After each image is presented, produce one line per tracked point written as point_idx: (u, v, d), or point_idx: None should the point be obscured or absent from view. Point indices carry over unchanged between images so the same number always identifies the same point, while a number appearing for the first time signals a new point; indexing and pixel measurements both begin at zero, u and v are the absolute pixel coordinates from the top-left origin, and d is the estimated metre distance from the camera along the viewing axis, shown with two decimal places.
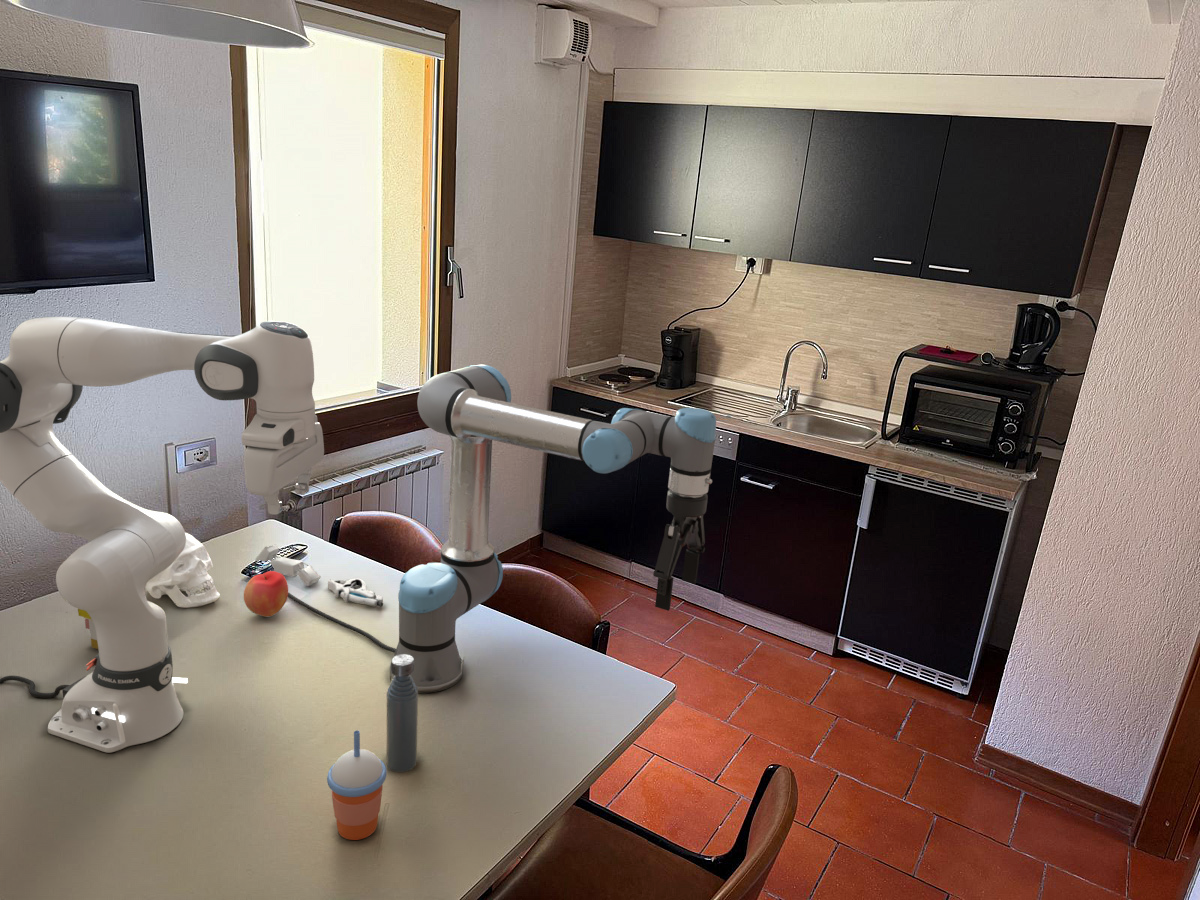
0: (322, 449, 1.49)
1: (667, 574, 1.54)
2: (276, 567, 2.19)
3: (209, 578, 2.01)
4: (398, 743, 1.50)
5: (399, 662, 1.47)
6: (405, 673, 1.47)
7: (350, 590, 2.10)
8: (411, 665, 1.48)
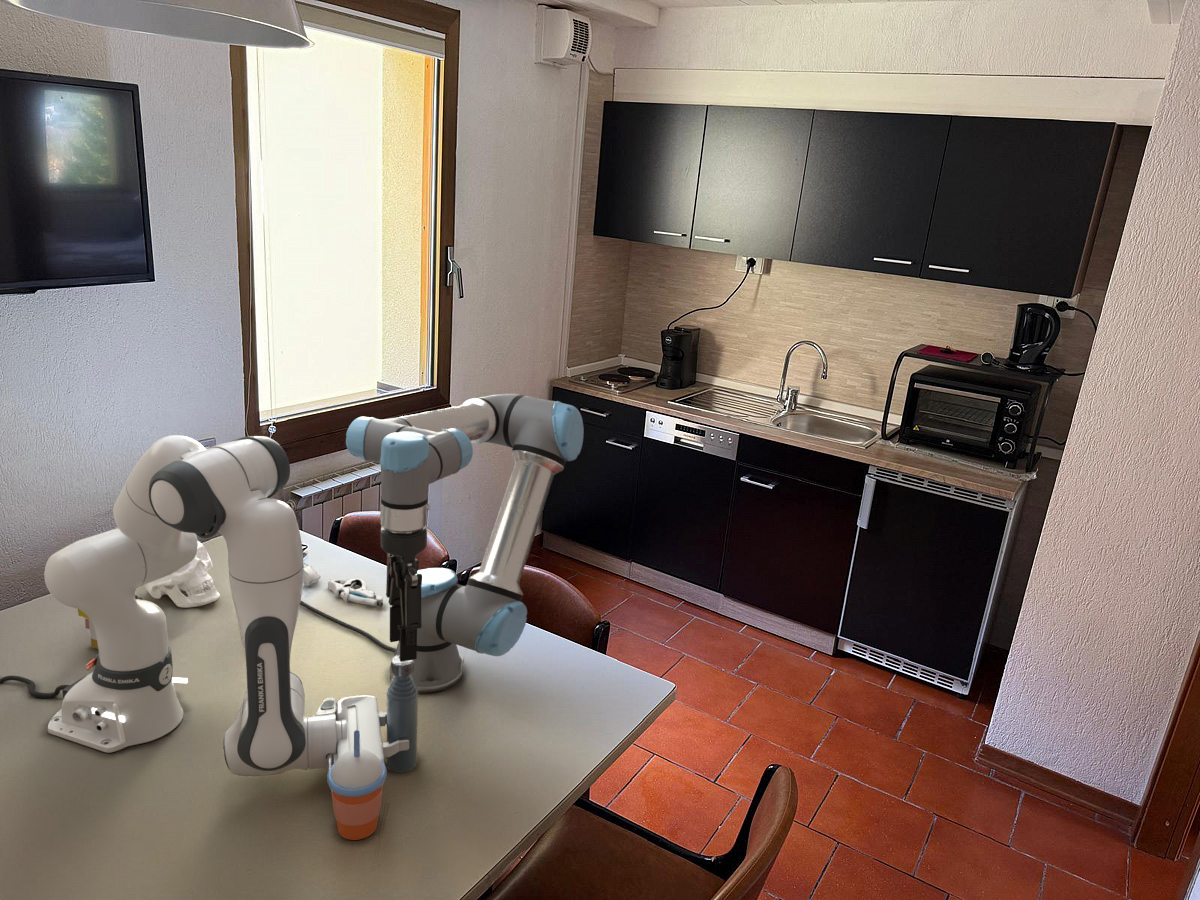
0: None
1: (420, 622, 1.41)
2: None
3: (209, 578, 2.01)
4: None
5: (399, 662, 1.47)
6: (405, 673, 1.47)
7: (350, 590, 2.10)
8: (411, 665, 1.48)
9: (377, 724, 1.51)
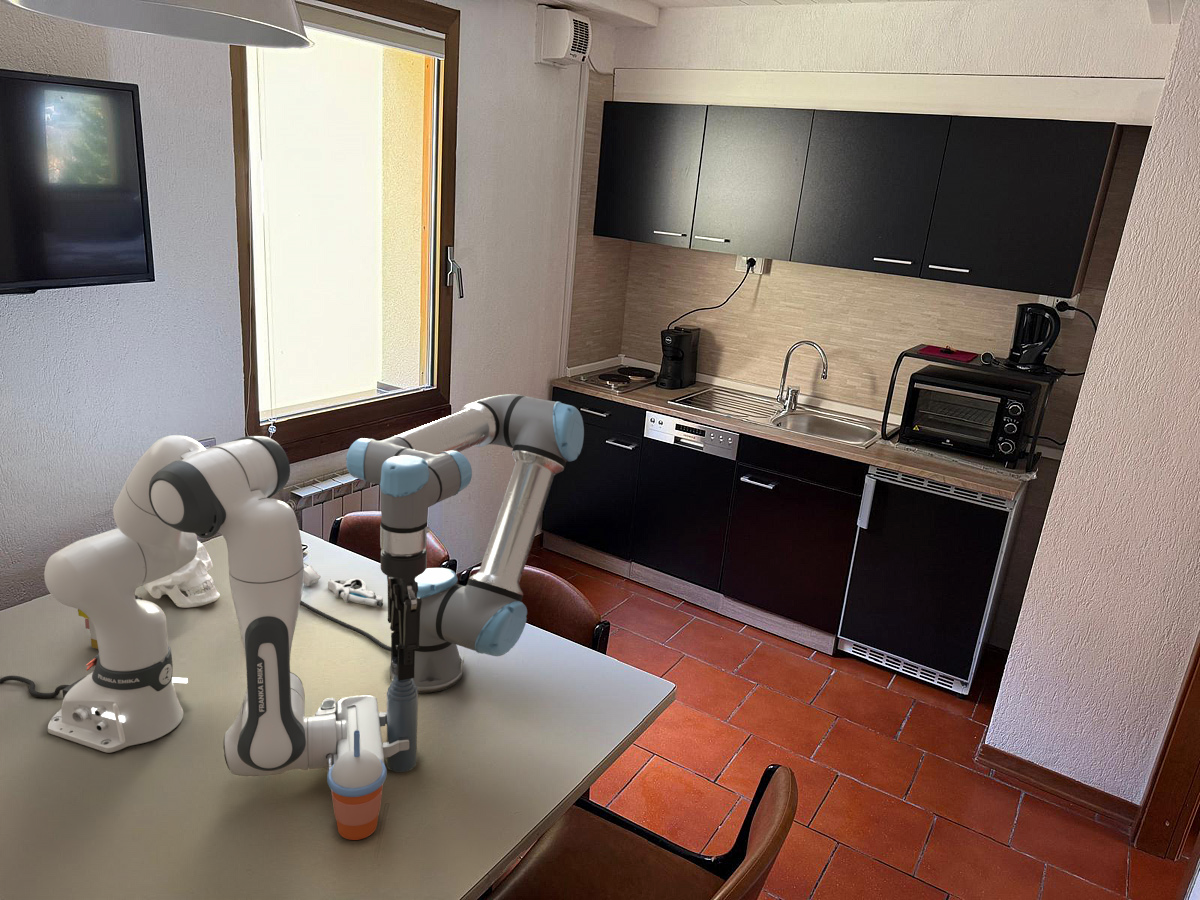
0: None
1: None
2: None
3: (209, 578, 2.01)
4: None
5: None
6: None
7: (350, 590, 2.10)
8: None
9: (377, 724, 1.51)
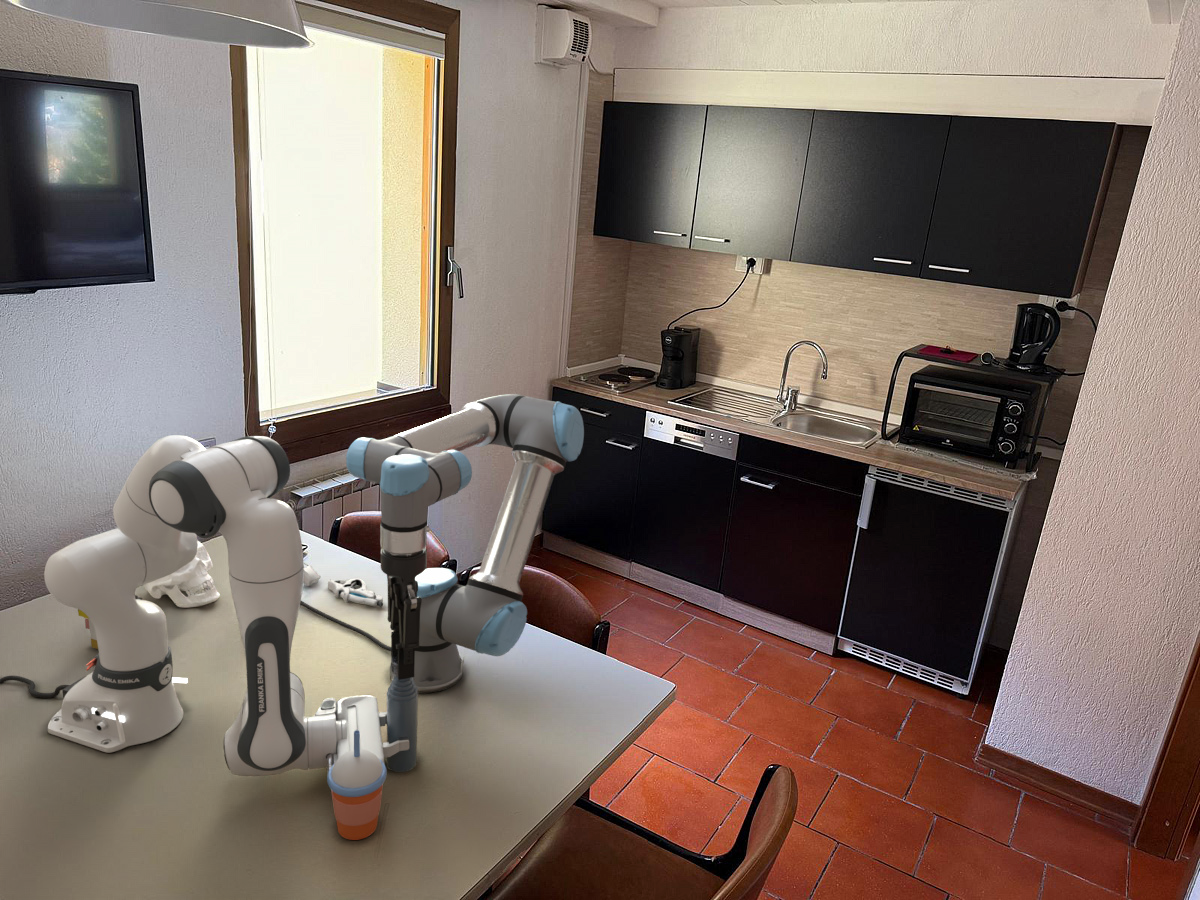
0: None
1: None
2: None
3: (209, 578, 2.01)
4: None
5: None
6: None
7: (350, 590, 2.10)
8: None
9: (377, 724, 1.51)
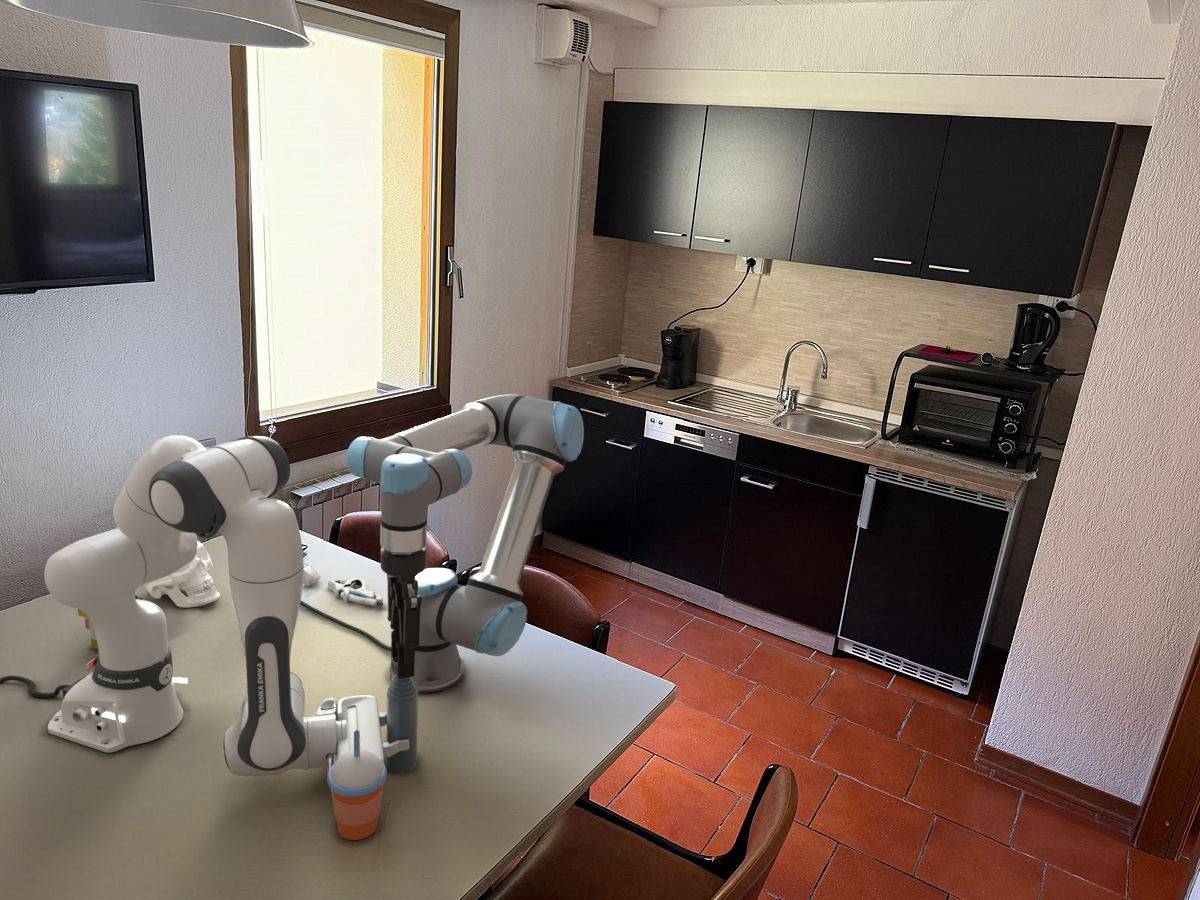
0: None
1: None
2: None
3: (209, 578, 2.01)
4: None
5: None
6: (391, 667, 1.48)
7: (350, 590, 2.10)
8: (394, 664, 1.47)
9: (377, 724, 1.51)
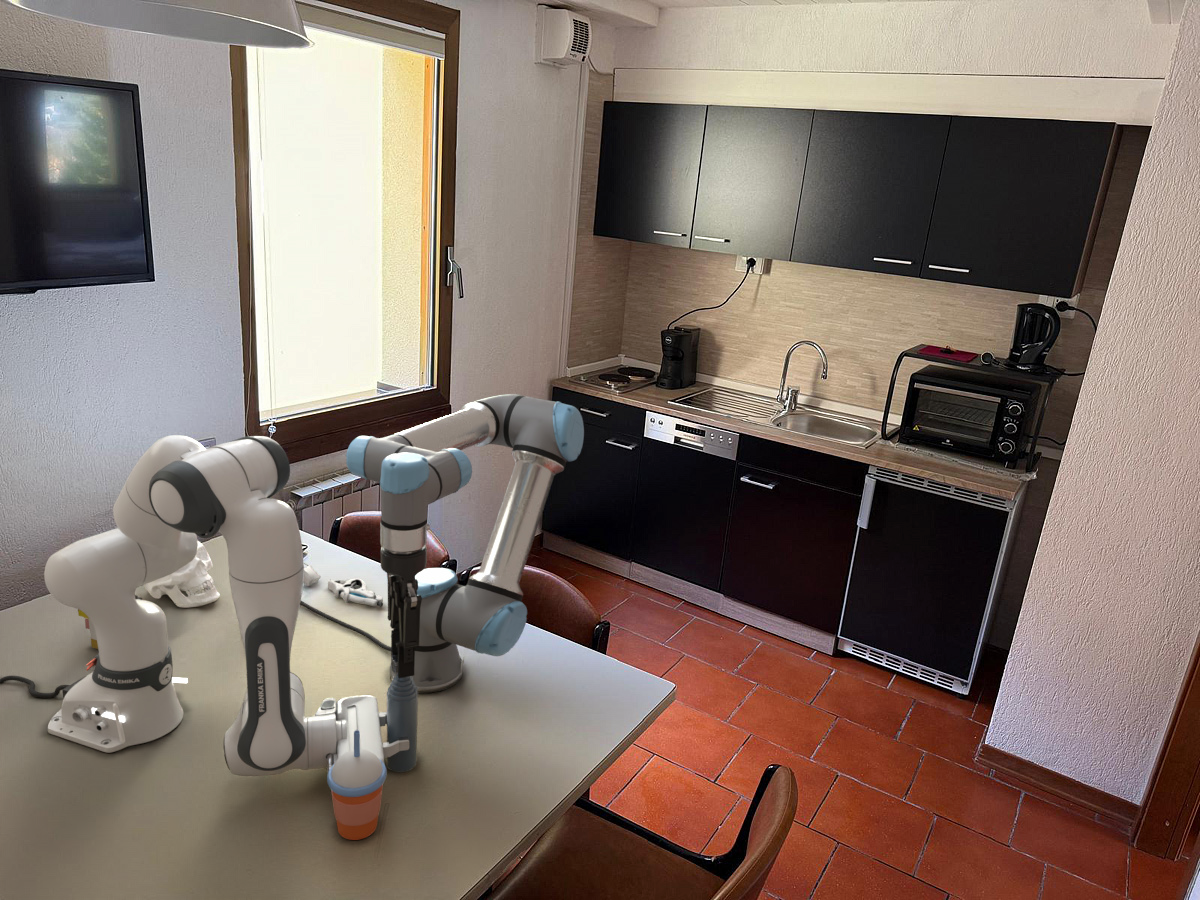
0: None
1: None
2: None
3: (209, 578, 2.01)
4: None
5: None
6: None
7: (350, 590, 2.10)
8: None
9: (377, 724, 1.51)
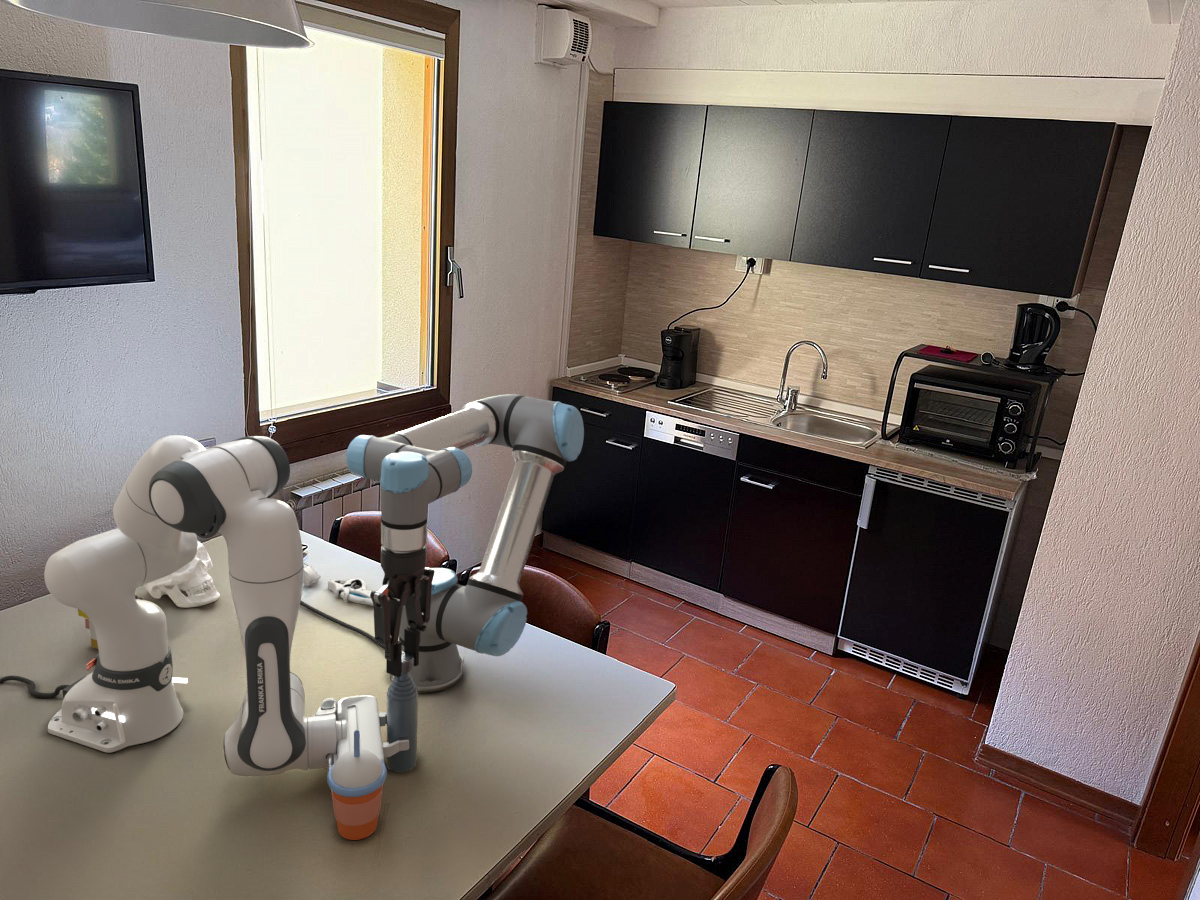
0: None
1: None
2: None
3: (209, 578, 2.01)
4: None
5: (408, 655, 1.49)
6: None
7: (350, 590, 2.10)
8: None
9: (377, 724, 1.51)
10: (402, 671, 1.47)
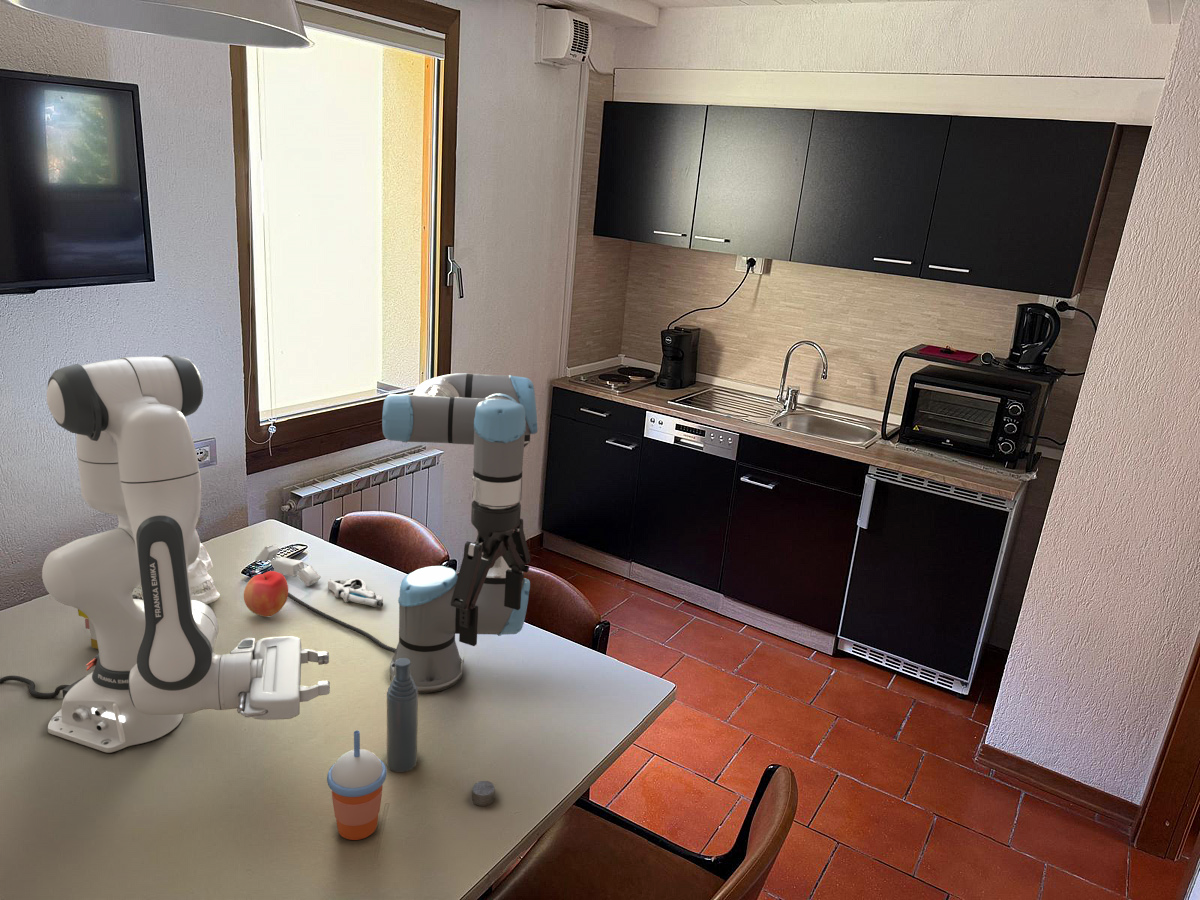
0: None
1: None
2: (276, 567, 2.19)
3: (209, 578, 2.01)
4: (399, 743, 1.50)
5: (488, 785, 1.47)
6: None
7: (350, 590, 2.10)
8: None
9: (297, 664, 1.43)
10: (485, 803, 1.45)
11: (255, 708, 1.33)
